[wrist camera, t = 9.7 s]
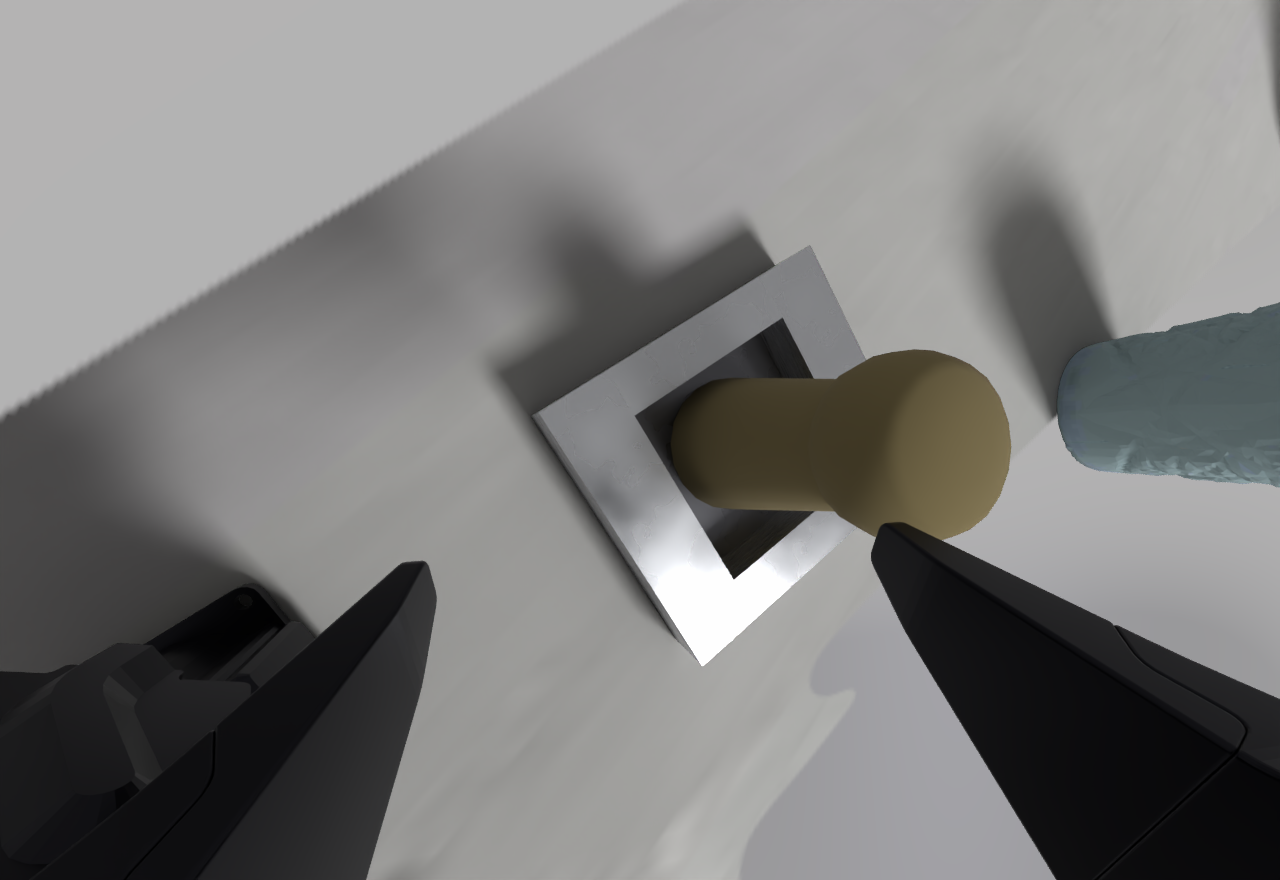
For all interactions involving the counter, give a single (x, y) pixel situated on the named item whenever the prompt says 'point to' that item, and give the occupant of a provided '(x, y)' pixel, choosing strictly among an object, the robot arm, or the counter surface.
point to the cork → (852, 443)
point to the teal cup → (1180, 401)
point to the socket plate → (643, 464)
